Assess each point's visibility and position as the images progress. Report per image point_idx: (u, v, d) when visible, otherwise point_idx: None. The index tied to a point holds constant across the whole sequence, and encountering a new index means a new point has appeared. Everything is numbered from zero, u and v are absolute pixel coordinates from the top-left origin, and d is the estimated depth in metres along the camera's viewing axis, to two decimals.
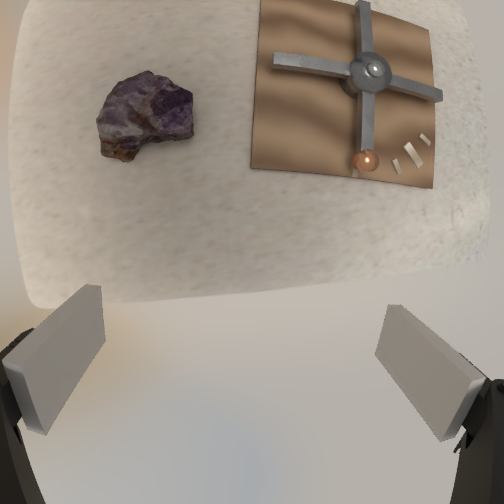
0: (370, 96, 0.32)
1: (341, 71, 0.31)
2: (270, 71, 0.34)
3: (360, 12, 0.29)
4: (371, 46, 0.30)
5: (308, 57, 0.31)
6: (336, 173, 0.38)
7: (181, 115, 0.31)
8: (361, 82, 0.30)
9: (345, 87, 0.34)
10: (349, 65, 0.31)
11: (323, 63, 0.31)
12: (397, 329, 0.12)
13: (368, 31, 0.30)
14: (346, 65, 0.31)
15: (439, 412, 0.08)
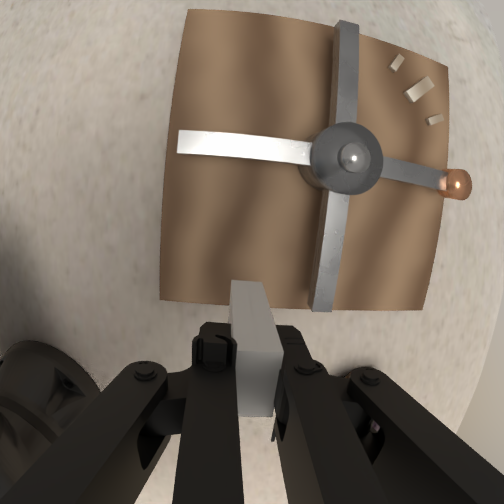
0: None
1: (344, 208, 0.22)
2: None
3: (212, 154, 0.20)
4: (288, 143, 0.21)
5: (322, 261, 0.23)
6: (441, 208, 0.27)
7: None
8: None
9: None
10: (333, 193, 0.22)
11: (332, 237, 0.22)
12: None
13: (254, 143, 0.20)
14: (333, 197, 0.22)
15: None
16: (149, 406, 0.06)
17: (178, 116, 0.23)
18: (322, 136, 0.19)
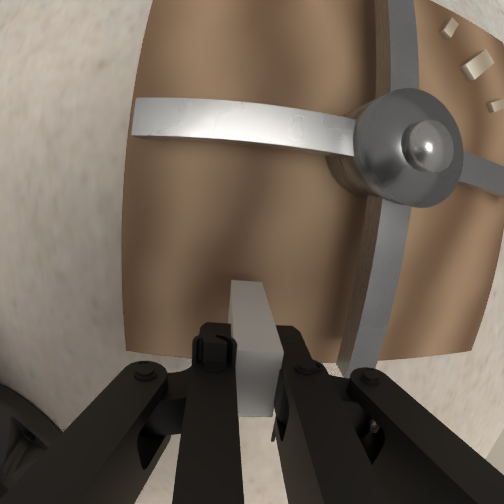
0: None
1: (403, 227, 0.13)
2: None
3: (189, 136, 0.12)
4: (318, 118, 0.12)
5: (366, 309, 0.14)
6: (503, 221, 0.18)
7: None
8: (449, 191, 0.12)
9: None
10: (388, 202, 0.13)
11: (383, 273, 0.14)
12: None
13: (262, 117, 0.12)
14: (388, 209, 0.13)
15: None
16: (149, 406, 0.06)
17: (146, 85, 0.14)
18: (377, 107, 0.10)
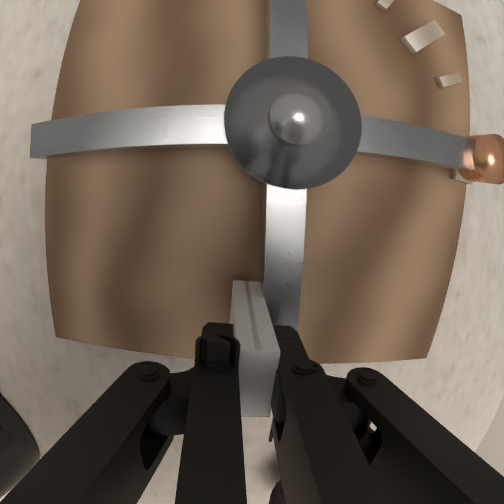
0: None
1: (298, 213, 0.13)
2: None
3: (71, 151, 0.11)
4: (185, 111, 0.11)
5: (267, 306, 0.13)
6: (460, 212, 0.17)
7: None
8: (345, 165, 0.11)
9: None
10: (274, 188, 0.12)
11: (280, 266, 0.13)
12: None
13: (130, 121, 0.11)
14: (276, 195, 0.12)
15: None
16: (152, 407, 0.06)
17: (65, 90, 0.14)
18: (235, 86, 0.10)
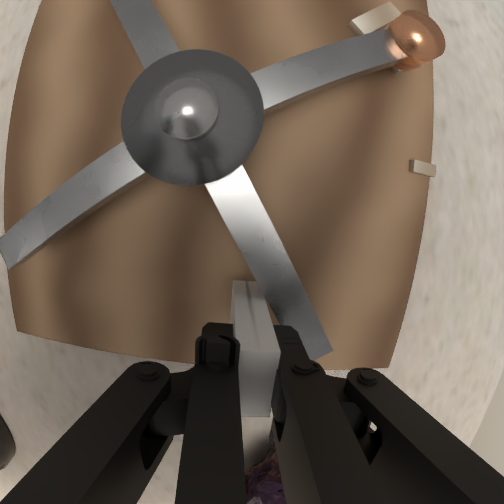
0: (262, 84, 0.11)
1: (248, 194, 0.12)
2: None
3: (35, 247, 0.12)
4: (102, 162, 0.11)
5: (268, 294, 0.13)
6: (423, 208, 0.17)
7: None
8: (261, 126, 0.10)
9: None
10: (213, 183, 0.12)
11: (259, 251, 0.13)
12: None
13: (65, 196, 0.12)
14: (219, 189, 0.12)
15: None
16: (152, 406, 0.06)
17: (20, 100, 0.14)
18: (123, 118, 0.10)
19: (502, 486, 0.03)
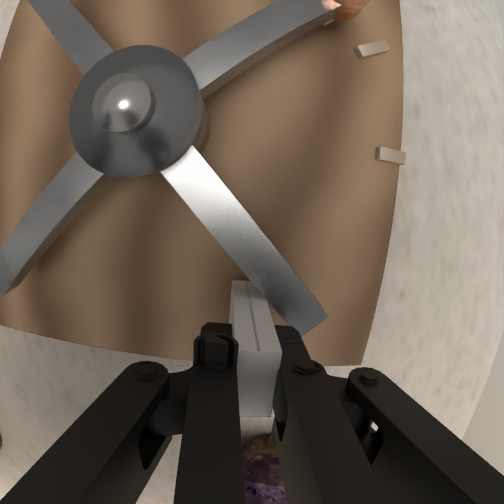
0: (197, 64, 0.11)
1: (204, 172, 0.12)
2: (160, 333, 0.17)
3: (21, 268, 0.12)
4: (64, 173, 0.11)
5: (246, 269, 0.13)
6: (392, 198, 0.16)
7: (279, 498, 0.16)
8: (198, 102, 0.10)
9: (206, 135, 0.14)
10: (168, 169, 0.12)
11: (227, 226, 0.12)
12: None
13: (38, 214, 0.12)
14: (175, 173, 0.12)
15: None
16: (150, 406, 0.06)
17: None
18: (70, 127, 0.10)
19: (503, 486, 0.03)
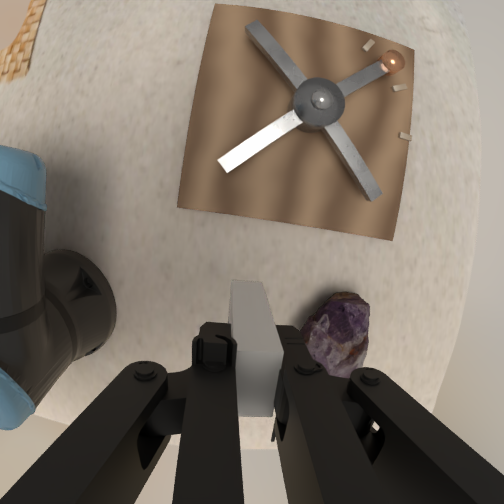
0: None
1: (340, 129, 0.29)
2: (297, 209, 0.35)
3: (247, 158, 0.30)
4: (281, 120, 0.29)
5: (353, 168, 0.30)
6: (405, 155, 0.34)
7: (356, 315, 0.33)
8: (344, 104, 0.28)
9: None
10: (327, 126, 0.29)
11: (347, 151, 0.30)
12: None
13: (264, 134, 0.29)
14: (329, 128, 0.29)
15: None
16: (149, 406, 0.06)
17: (204, 75, 0.31)
18: (296, 102, 0.27)
19: (503, 486, 0.03)
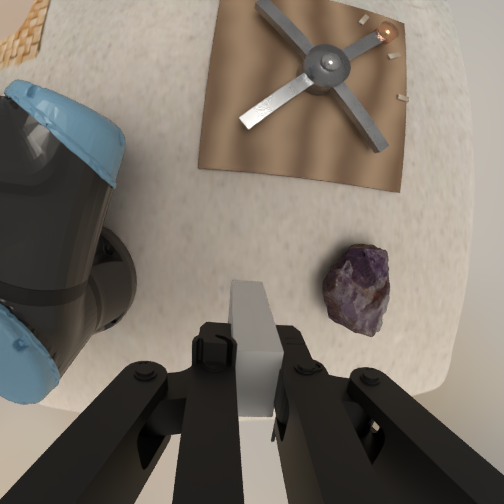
0: None
1: (347, 89, 0.31)
2: (311, 165, 0.37)
3: (266, 115, 0.31)
4: (294, 81, 0.30)
5: (361, 123, 0.32)
6: (404, 115, 0.36)
7: (377, 260, 0.35)
8: (349, 66, 0.29)
9: None
10: (336, 86, 0.31)
11: (355, 108, 0.31)
12: None
13: (280, 94, 0.31)
14: (338, 88, 0.31)
15: None
16: (149, 406, 0.06)
17: (217, 47, 0.32)
18: (307, 64, 0.29)
19: (503, 486, 0.03)
